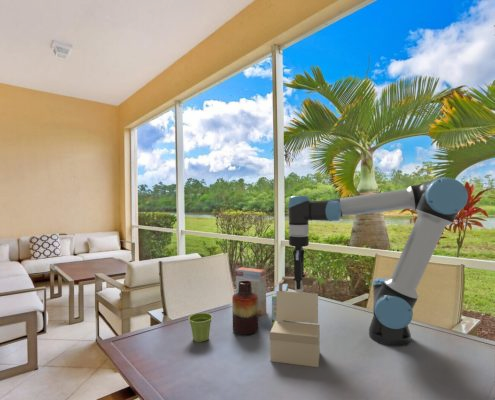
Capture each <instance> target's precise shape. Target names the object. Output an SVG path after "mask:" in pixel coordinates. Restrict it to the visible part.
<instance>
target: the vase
mask: <svg viewBox="0 0 495 400" xmlns="http://www.w3.org/2000/svg"><path fill="white" fill-rule="evenodd" d="M231 301H232V302H231V303H232V332H233V333H234V334H235V335H236V336H243V337H245V336H246V337H248V336H253V335H256V334H257V333H258V332H259V316H258V296H257V294H255V293H253V292H252V284H251V281H240V282H239V283H238V293H236V292H235V293H234V294H233V295H232V300H231Z"/></svg>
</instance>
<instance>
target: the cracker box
mask: <svg viewBox="0 0 495 400" xmlns="http://www.w3.org/2000/svg"><path fill="white" fill-rule="evenodd" d="M266 271H267V270H266V269H261V268H260V269H259V268H254V267H253V268H252V267H244V266H243V267H242V266H241V267H239V268H236V269H235V294H236V293H238V283H239V282H240V281H251V284H252V292H253V293H255V294H257V296H258V317H261V316H263V315H264V314H266V313H267V277H266V275H267V272H266Z"/></svg>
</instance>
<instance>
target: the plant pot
mask: <svg viewBox="0 0 495 400" xmlns="http://www.w3.org/2000/svg"><path fill="white" fill-rule="evenodd" d="M212 319H213V315H212V314H211V313H208V312H199V313H193V314H192V315H190V316H188V321H189V324H190V327H191V332H192V333H191V334H192V339H193V341H195V342H196V343H197V342H198V343H202V342H206V341H208V340H209V337H210V330H211V322H212Z"/></svg>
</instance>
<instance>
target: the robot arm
mask: <svg viewBox="0 0 495 400" xmlns="http://www.w3.org/2000/svg"><path fill="white" fill-rule="evenodd" d="M468 196H469V194H468V190H467V188H466V187H465V185H464V184H463V183H462V182H461V181H459V180H457V179H455V178H451V177H446V176H445V177H437V178H434V179H431V180H428V181H424V182H422V183H419V184H413V185H409V186H408V187H407V188H403V189H397V190H391V191H382V192H376V193H375V192H374V193H370V194H362V195H361V194H360V195H353V196H349V197H342V198H341V197H340V198H333V199H326V200H309V196H308V195H292V196H290V197H289V199H288V226H287V230H288V235H289V236H288V245H289V246H290V247H294V250H293V252H292V253H293V254H292V255H293V268H294V269H293V272H294V275H293V277H294V279H293V280H295V284H294V292H304V285H302V278H306V275H305V273H304V261H305V249H303V247H308V246H309V240H310V239H309V236H308V235H309V234H310V232H309V230H310V229H309V227H310V226H309V225H310V224H309V221H324V222H327V221H328V222H332V221H333V222H335V221H340V219H341V217H351V216H357V215H359V216H360V215H366V214H375V213H382V212H383V213H384V212H385V213H386V212H392V211H399V210H402V211H403V210H409V209H410V210H411V211H413V212H414V211H415V212H416V214H417V219H416V220H415V223H414V225H413V227H412V229H411V231H410V234H409V235H408V238H407V241H406V243H405V245H404V247H403V249H402V251H401V253H400V256H399V258H398V261H397V262H396V265H395V267H394V269H393V271H392V273H391V276H390V278H389V277H377V278H374V279H373V283H372V289H373V290H372V291H373V294H372V295H373V296H372V297H373V298H372V299H373V302H372V303H373V304H372V305H373V307H372V309H373V316H372V320H371V322H370V324H369V325H370V326H369V328H368V335H369V338H371V340H373V341H375V342H377V343H379V344H382V345H387V346H394V347H402V346H403V347H404V346H407V345H409V344H410V343H412V334H411V331H410V329H409V325H410V324H411V322H412V320H413V315H414V311H413V309H414V307H415V305H416V303H417V300H418V299H419V295H418V293H417V288H418V286H419V284H420V282H421V279H422V278H423V275H424V274H425V271H426V269H427V267H428V265H429V262H430V260H431V258H432V256H433V253H434V252H435V249H436V248H437V244H438V243H439V241H440V239H441V238H442V235H443V232H444V231H445V228H446V226H449V225H451V224H454V222H455V219H456V217H457V216H458V213H459V212H461V211H462V210H463V208H464V207H465V206H466V205H467V203H468V199H469V197H468Z"/></svg>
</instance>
